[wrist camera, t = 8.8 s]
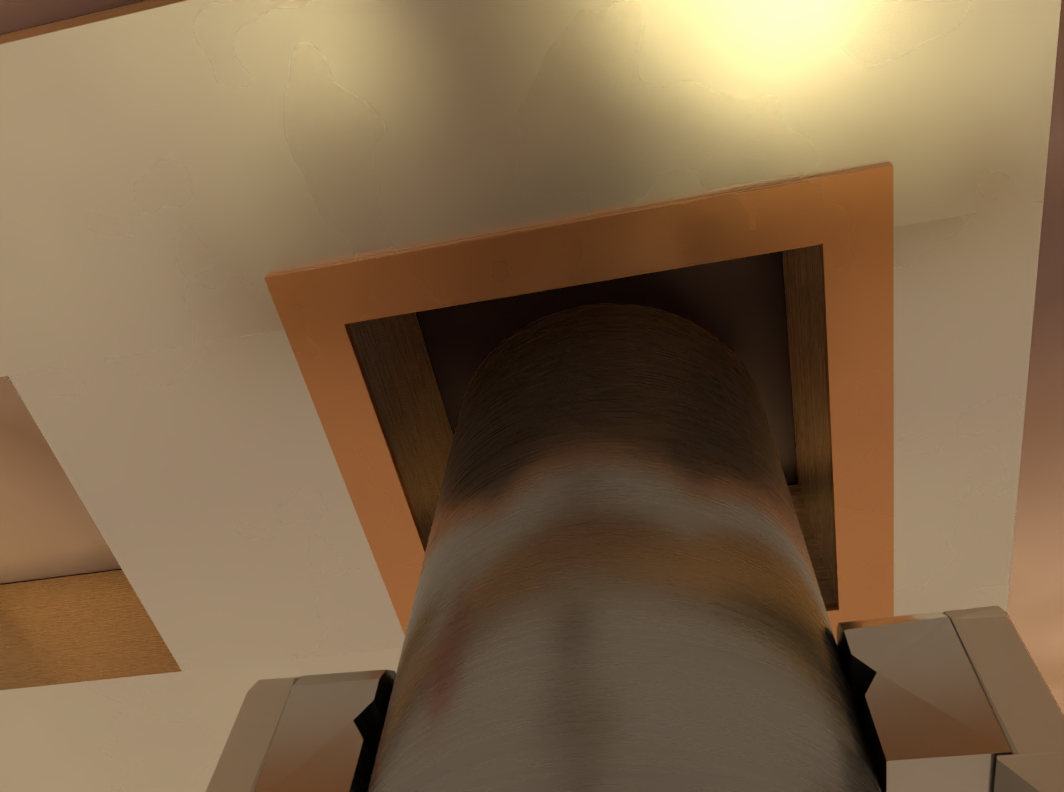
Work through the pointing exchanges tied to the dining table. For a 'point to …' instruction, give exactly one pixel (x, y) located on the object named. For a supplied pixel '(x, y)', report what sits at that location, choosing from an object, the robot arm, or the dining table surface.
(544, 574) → the steel sleeve
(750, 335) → the dining table surface
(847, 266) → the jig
